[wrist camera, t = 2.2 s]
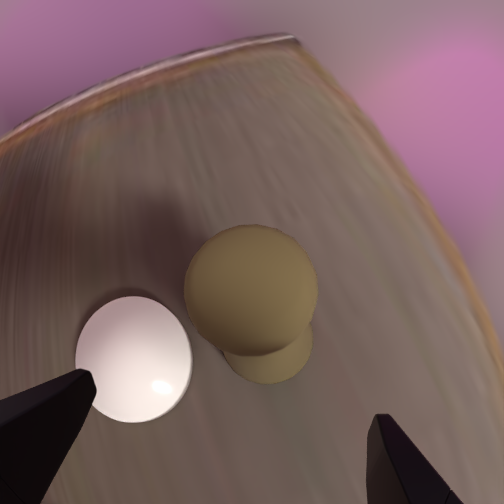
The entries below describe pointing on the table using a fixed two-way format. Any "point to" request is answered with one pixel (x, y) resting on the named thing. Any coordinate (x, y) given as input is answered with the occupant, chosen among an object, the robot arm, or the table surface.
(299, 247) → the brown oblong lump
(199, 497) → the table surface
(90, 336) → the coaster
